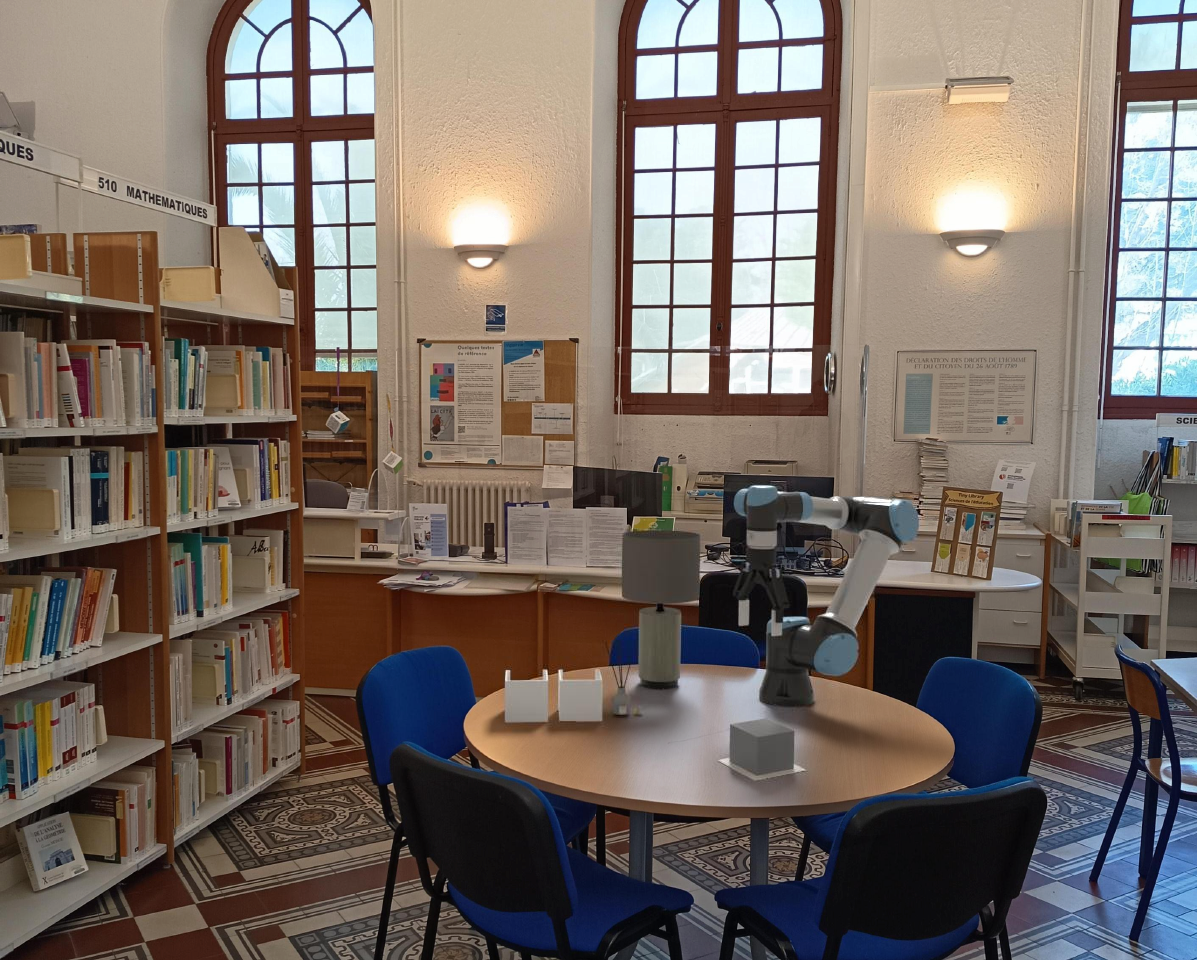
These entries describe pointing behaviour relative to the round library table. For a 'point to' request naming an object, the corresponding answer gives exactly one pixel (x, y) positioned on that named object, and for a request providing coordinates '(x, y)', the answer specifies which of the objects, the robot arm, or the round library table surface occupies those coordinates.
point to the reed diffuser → (622, 691)
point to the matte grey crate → (761, 746)
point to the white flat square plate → (760, 777)
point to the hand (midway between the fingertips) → (759, 630)
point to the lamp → (660, 596)
